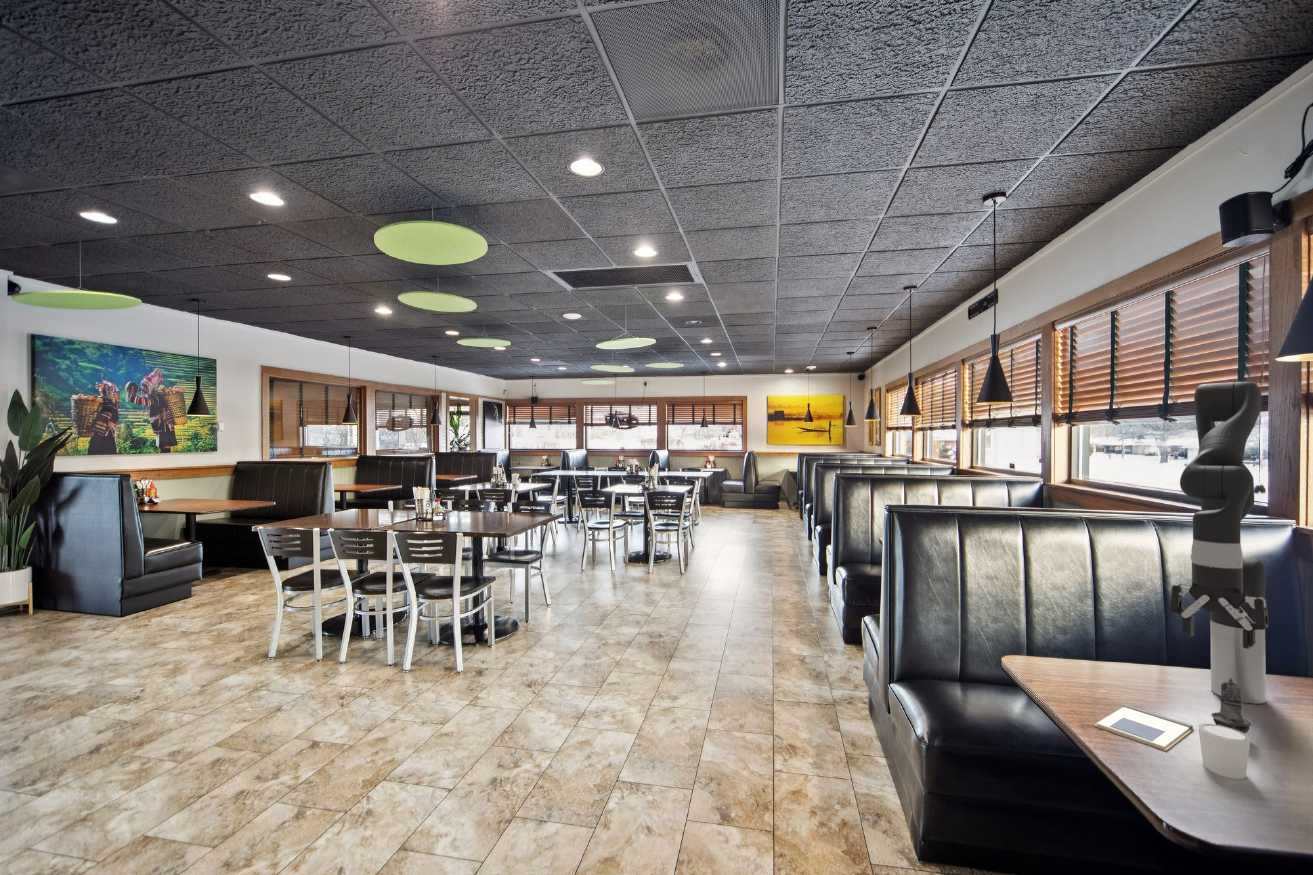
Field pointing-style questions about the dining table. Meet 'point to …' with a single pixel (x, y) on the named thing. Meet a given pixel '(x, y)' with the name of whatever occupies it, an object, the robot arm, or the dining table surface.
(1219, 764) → the shot glass
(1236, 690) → the dark grey chess bishop
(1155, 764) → the dining table surface
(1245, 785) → the dining table surface
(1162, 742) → the order pad
